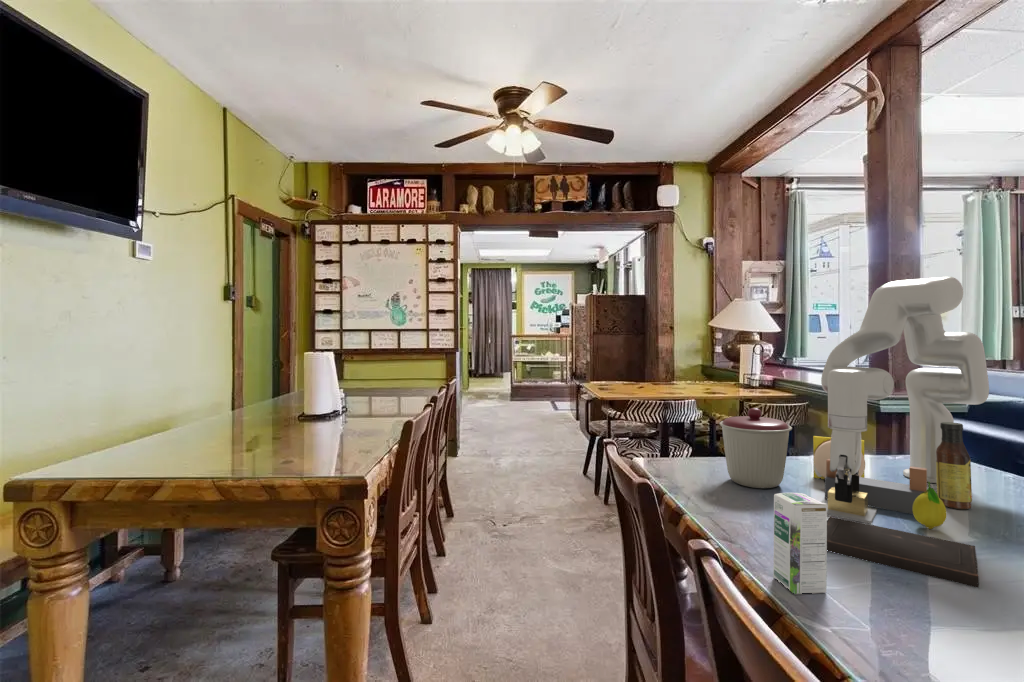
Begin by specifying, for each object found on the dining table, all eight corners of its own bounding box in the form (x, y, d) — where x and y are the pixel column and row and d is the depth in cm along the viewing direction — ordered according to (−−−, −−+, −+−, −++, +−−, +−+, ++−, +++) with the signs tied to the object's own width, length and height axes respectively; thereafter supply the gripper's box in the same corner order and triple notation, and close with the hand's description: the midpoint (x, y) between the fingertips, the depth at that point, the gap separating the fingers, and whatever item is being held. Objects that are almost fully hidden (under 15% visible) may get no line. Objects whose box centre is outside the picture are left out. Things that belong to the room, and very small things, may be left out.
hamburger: (813, 482, 136) (813, 439, 136) (813, 475, 144) (813, 434, 143) (866, 489, 130) (866, 444, 130) (863, 481, 137) (863, 438, 137)
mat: (826, 502, 120) (826, 499, 120) (877, 511, 113) (877, 509, 113) (817, 513, 113) (817, 510, 113) (871, 524, 106) (871, 521, 106)
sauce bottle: (978, 511, 113) (978, 426, 113) (947, 509, 114) (947, 425, 114) (959, 502, 119) (958, 421, 119) (929, 500, 121) (929, 420, 121)
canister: (793, 480, 139) (793, 406, 139) (790, 497, 124) (790, 415, 123) (725, 471, 148) (725, 402, 148) (714, 486, 133) (714, 409, 133)
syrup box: (771, 577, 83) (771, 492, 83) (804, 576, 83) (804, 491, 83) (793, 595, 77) (793, 504, 77) (829, 593, 78) (828, 502, 77)
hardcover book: (829, 526, 106) (829, 516, 106) (975, 558, 91) (975, 545, 91) (814, 550, 94) (814, 539, 94) (978, 591, 79) (978, 577, 79)
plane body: (829, 491, 129) (829, 453, 129) (930, 509, 115) (930, 466, 115) (823, 497, 124) (823, 458, 123) (928, 517, 110) (928, 472, 110)
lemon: (939, 537, 99) (939, 488, 99) (905, 527, 104) (905, 480, 104) (955, 531, 102) (955, 483, 102) (921, 521, 107) (921, 476, 107)
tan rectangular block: (832, 503, 117) (831, 487, 117) (867, 510, 113) (867, 493, 112) (827, 509, 114) (827, 491, 114) (864, 516, 109) (864, 498, 109)
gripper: (835, 416, 122) (835, 484, 122) (820, 425, 109) (820, 501, 109) (872, 419, 117) (872, 490, 117) (861, 429, 104) (861, 509, 104)
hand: (847, 496), depth 113 cm, fingers open, 9 cm apart
